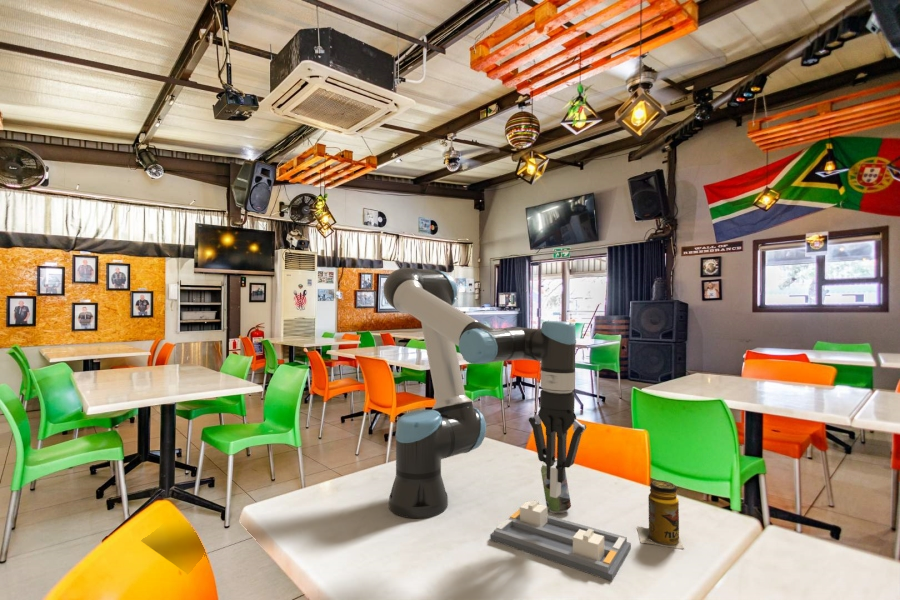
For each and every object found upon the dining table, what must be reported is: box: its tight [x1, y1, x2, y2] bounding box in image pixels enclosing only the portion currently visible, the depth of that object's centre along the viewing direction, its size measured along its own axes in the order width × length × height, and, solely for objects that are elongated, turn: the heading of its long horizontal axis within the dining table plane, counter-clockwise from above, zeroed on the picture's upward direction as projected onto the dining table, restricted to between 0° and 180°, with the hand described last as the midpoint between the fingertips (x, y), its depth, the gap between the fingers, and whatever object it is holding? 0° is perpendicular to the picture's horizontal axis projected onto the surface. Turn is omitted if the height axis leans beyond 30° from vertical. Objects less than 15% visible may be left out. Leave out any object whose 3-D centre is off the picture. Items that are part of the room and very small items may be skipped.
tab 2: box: [519, 500, 548, 527], centre depth 103 cm, size 5×4×4 cm
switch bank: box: [489, 508, 632, 582], centre depth 96 cm, size 26×14×2 cm, turn 55°
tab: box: [573, 529, 604, 561], centre depth 89 cm, size 5×4×4 cm
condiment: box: [636, 480, 684, 550], centre depth 99 cm, size 7×8×12 cm
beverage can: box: [540, 459, 572, 514], centre depth 113 cm, size 6×7×12 cm
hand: (555, 495), depth 100 cm, fingers closed
